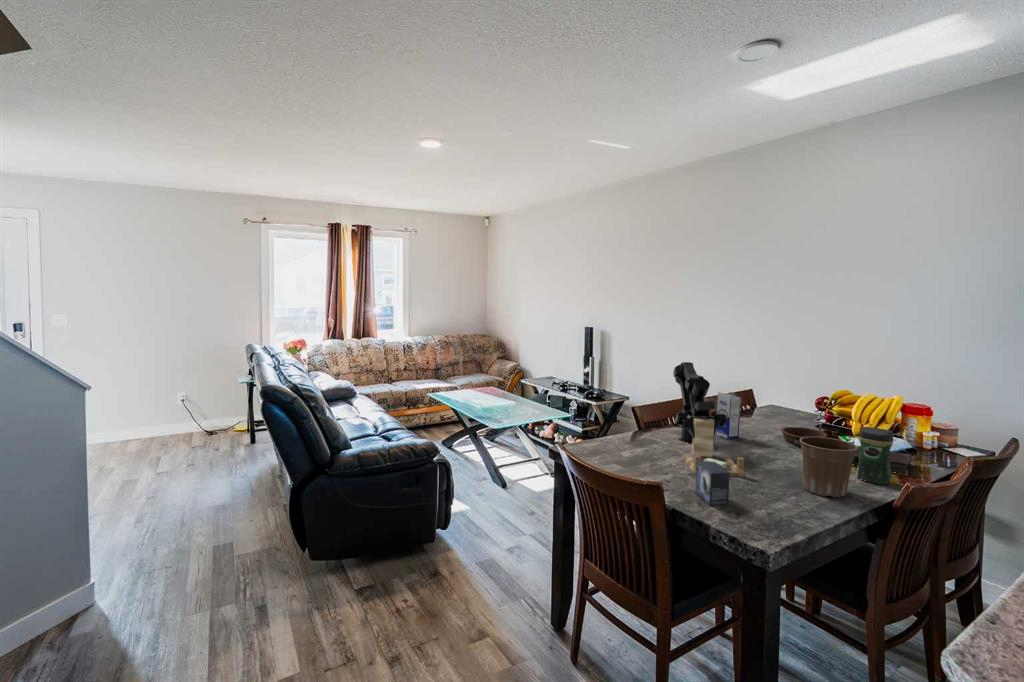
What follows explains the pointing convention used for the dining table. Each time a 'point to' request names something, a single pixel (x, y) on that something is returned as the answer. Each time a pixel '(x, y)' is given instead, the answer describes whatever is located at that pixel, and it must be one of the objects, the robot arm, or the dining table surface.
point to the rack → (737, 469)
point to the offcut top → (722, 464)
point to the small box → (712, 483)
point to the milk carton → (729, 414)
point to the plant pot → (826, 465)
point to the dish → (799, 434)
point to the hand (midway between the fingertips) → (703, 438)
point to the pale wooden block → (703, 437)
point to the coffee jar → (875, 455)
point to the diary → (891, 461)
